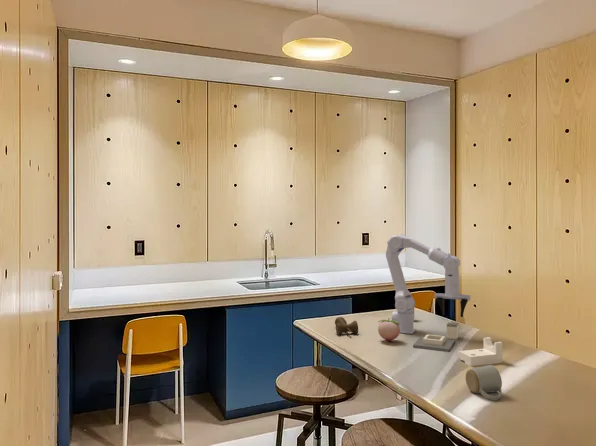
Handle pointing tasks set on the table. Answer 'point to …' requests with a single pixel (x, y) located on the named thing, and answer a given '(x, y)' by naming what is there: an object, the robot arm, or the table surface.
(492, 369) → the ceramic mug
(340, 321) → the kendama
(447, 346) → the outlet plate
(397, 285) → the robot arm
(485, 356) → the bracket
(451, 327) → the block
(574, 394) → the table surface
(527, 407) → the table surface
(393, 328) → the decorative fruit
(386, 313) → the table surface
